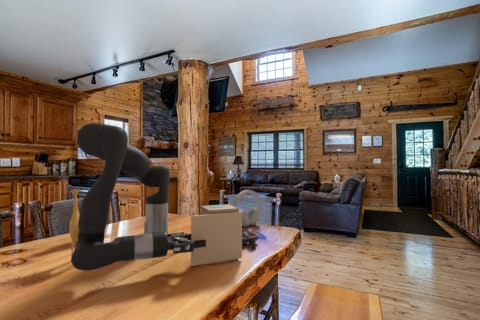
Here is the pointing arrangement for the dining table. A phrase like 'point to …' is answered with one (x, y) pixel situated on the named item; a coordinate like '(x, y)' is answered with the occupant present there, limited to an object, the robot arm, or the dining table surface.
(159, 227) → the robot arm
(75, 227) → the giraffe
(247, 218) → the headphones
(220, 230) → the flap
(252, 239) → the figurine
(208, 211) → the carton
